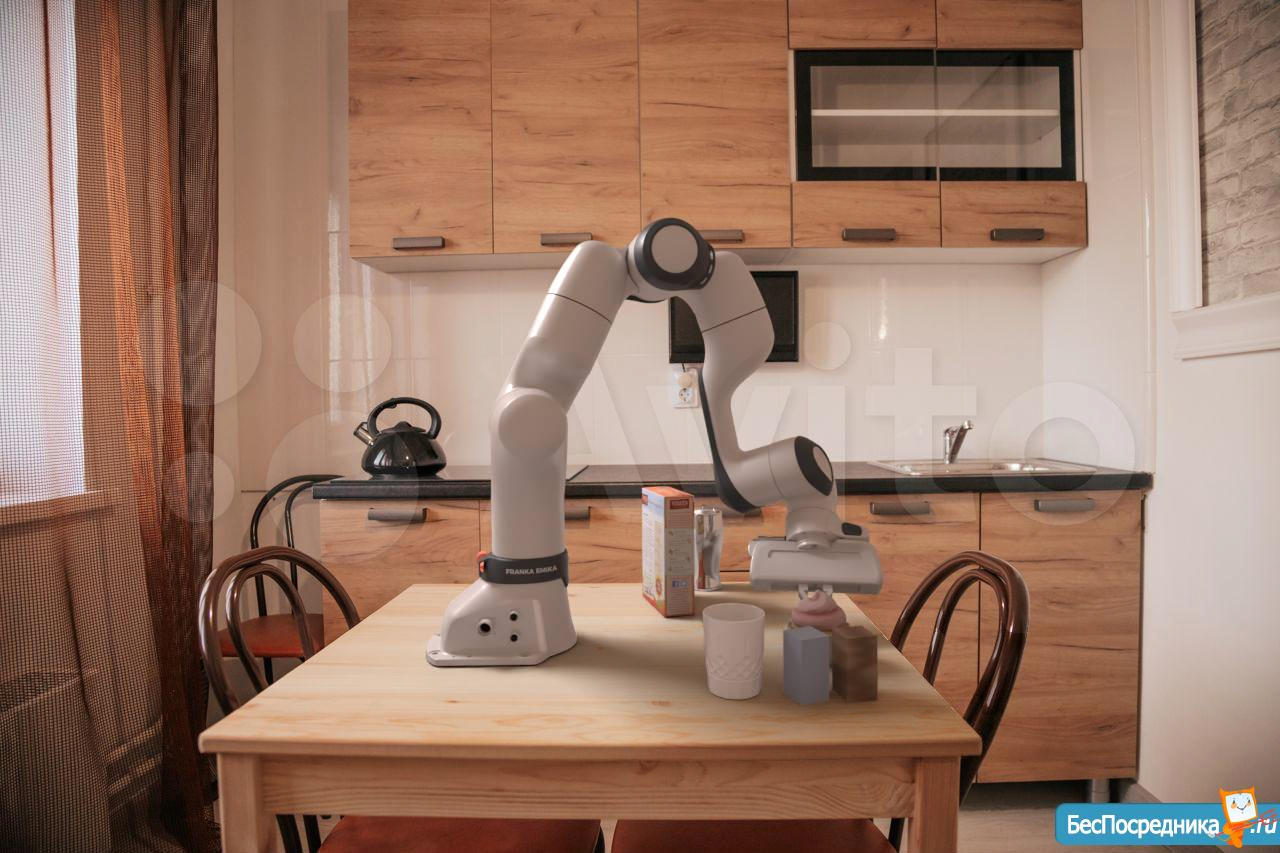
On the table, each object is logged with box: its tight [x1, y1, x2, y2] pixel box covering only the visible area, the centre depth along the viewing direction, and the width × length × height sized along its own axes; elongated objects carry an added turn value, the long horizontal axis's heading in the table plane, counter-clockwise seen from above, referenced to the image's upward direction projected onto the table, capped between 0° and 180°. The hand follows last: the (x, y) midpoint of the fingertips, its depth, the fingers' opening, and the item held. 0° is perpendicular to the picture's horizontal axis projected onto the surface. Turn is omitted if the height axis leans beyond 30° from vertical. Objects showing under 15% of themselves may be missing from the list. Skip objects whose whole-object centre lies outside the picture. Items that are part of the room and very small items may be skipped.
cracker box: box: [641, 486, 696, 618], centre depth 125 cm, size 14×6×21 cm, turn 15°
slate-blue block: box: [782, 626, 830, 706], centre depth 86 cm, size 4×4×8 cm
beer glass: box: [694, 508, 724, 592], centre depth 137 cm, size 7×7×15 cm
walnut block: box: [831, 625, 879, 704], centre depth 86 cm, size 4×4×8 cm
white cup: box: [702, 602, 766, 701], centre depth 89 cm, size 8×8×10 cm
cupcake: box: [785, 590, 850, 667], centre depth 98 cm, size 9×9×10 cm
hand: (816, 614), depth 104 cm, fingers closed
